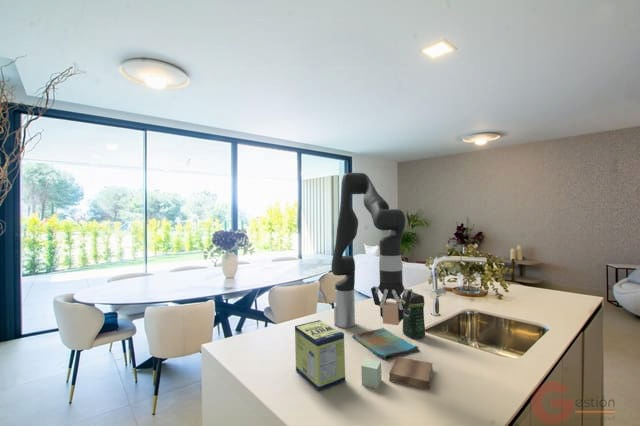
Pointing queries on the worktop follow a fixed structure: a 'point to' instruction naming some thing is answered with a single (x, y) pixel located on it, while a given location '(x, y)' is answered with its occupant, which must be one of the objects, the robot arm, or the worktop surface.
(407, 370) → the plinth
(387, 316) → the terracotta block
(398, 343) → the dish towel
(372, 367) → the sage block
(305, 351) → the protein box
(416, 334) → the coffee jar
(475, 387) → the worktop surface
